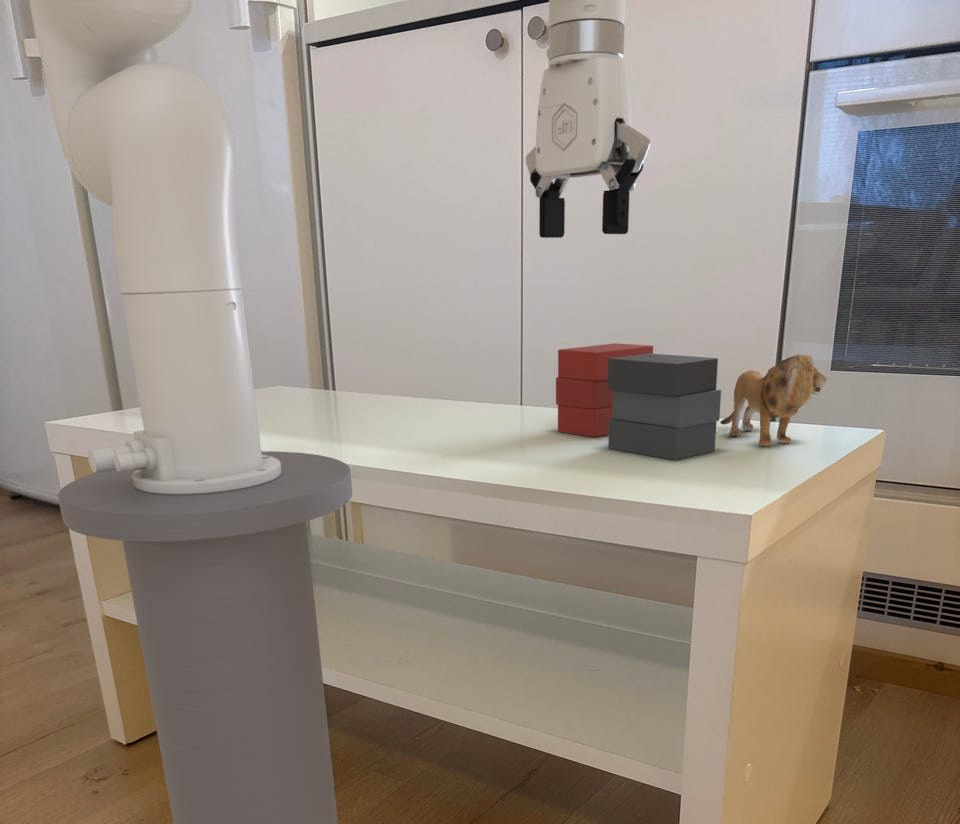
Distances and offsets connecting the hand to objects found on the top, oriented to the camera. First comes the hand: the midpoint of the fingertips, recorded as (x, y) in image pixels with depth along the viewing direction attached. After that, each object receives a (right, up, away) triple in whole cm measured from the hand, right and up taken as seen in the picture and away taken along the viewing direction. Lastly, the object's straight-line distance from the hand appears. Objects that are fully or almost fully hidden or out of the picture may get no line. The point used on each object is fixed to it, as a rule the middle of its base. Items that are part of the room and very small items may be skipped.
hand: (582, 235), depth 101 cm
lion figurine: (+19, -22, -1) cm, 29 cm away
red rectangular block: (+3, -13, +6) cm, 15 cm away
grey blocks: (+7, -24, -5) cm, 25 cm away
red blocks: (+3, -19, +8) cm, 21 cm away
